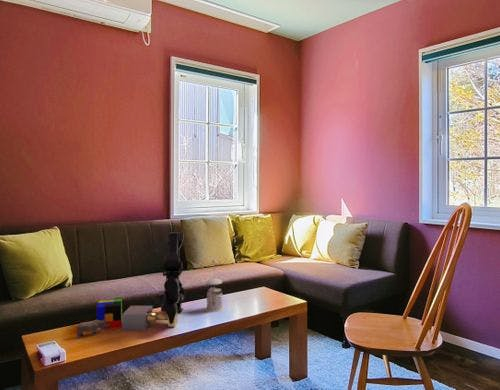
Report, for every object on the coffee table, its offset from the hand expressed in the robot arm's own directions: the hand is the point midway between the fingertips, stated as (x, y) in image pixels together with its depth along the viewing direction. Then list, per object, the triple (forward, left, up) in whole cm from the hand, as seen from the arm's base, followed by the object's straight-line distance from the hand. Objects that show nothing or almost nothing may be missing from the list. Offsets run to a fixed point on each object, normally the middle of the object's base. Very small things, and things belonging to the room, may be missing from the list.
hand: (172, 321), depth 176 cm
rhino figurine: (+10, -31, -2) cm, 33 cm away
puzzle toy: (-1, -29, -2) cm, 29 cm away
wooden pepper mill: (0, -7, -1) cm, 7 cm away
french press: (-22, +16, -2) cm, 27 cm away
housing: (0, -16, -2) cm, 16 cm away
